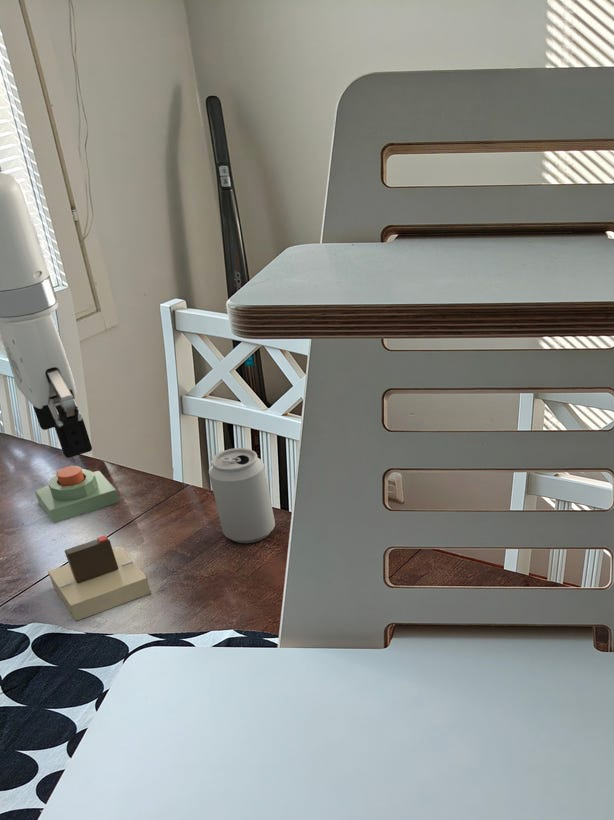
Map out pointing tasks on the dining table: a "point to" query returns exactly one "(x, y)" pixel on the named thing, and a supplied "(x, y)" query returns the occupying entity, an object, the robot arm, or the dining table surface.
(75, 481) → the button
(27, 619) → the dining table surface
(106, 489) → the button base
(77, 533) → the dining table surface
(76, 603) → the plate
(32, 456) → the dining table surface
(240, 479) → the can
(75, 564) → the thumbturn
